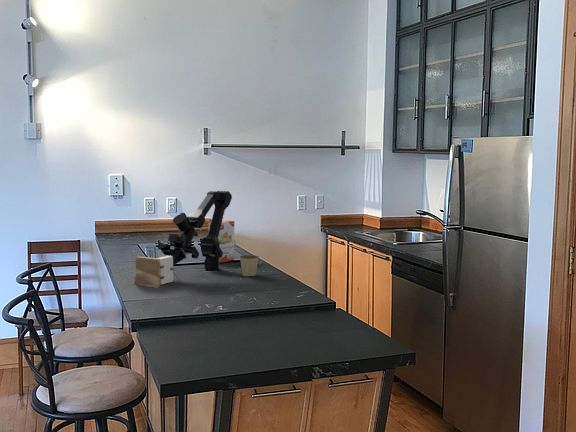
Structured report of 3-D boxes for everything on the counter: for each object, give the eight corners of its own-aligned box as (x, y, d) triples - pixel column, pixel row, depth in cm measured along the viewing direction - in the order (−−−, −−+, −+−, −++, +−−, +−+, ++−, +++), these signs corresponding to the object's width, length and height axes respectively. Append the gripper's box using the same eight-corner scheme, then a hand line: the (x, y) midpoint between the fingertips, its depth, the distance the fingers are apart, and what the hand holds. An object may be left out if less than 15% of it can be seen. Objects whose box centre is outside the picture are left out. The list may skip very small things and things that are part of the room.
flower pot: (256, 277, 292) (256, 258, 291) (236, 276, 294) (236, 258, 293) (261, 273, 302) (261, 255, 301) (242, 272, 303) (242, 254, 302)
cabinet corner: (154, 278, 290) (153, 251, 289) (179, 281, 283) (179, 254, 282) (131, 284, 277) (131, 256, 275) (157, 287, 270) (156, 259, 269)
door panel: (167, 280, 283) (167, 255, 282) (175, 281, 281) (175, 256, 280) (155, 283, 276) (155, 258, 275) (163, 284, 274) (163, 259, 273)
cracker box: (216, 264, 325) (216, 223, 322) (207, 262, 328) (207, 222, 326) (235, 260, 336) (234, 220, 334) (226, 259, 339) (226, 219, 337)
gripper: (161, 225, 289) (145, 253, 281) (195, 228, 281) (179, 256, 272) (172, 240, 297) (157, 268, 289) (205, 243, 289) (191, 272, 280)
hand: (170, 266), depth 282 cm, fingers closed, pressing on door panel
